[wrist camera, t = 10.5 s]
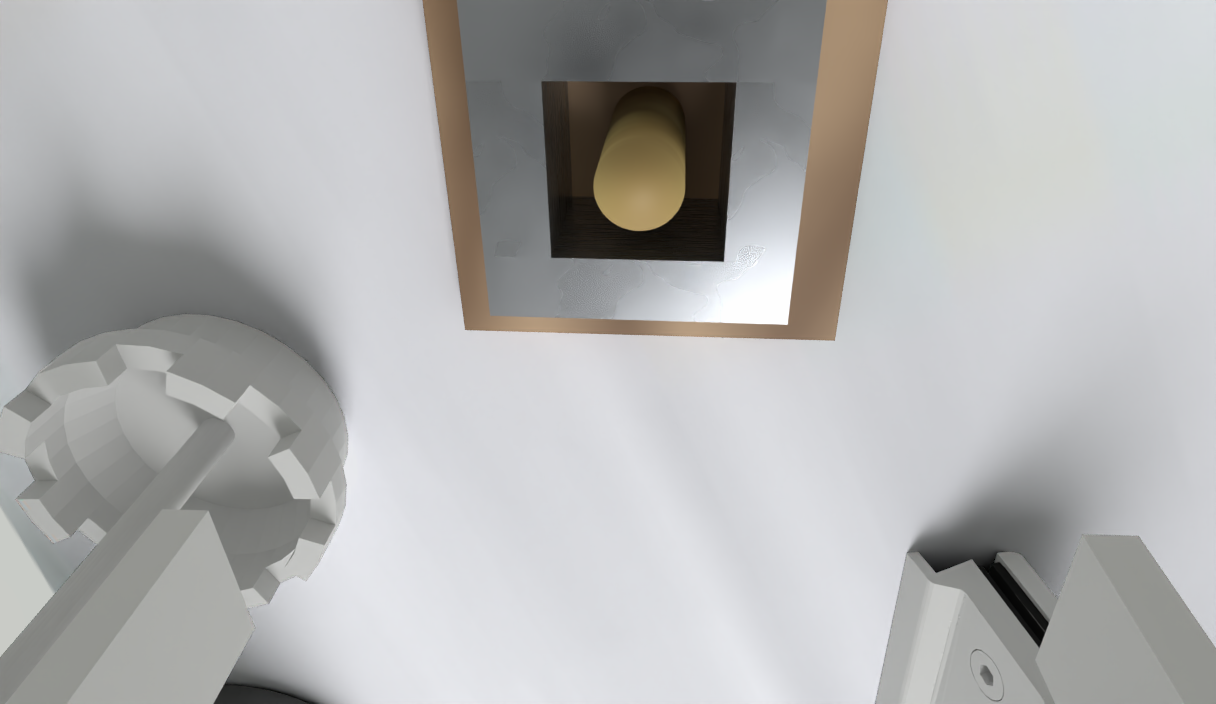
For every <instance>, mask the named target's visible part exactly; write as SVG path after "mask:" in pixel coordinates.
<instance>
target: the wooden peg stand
mask: <svg viewBox="0 0 1216 704" xmlns="http://www.w3.org/2000/svg"><path fill="white" fill-rule="evenodd" d="M887 3H888V0H827V3H826V12H825V20H824V28H823V36H822V45H821V53H820V61H819V69H818V77H817V86H816V94H815V102H814V110H813V118H812V127H811V135H810V143H809V151H808V160H807V168H806V176H805V184H804V192H803V201H802V209H801V217H800V225H799V233H798V242H797V250H796V258H795V266H794V274H793V283H792V291H791V299H790V307H789V316H788V324H787V325H784V324H750V323H717V322H683V321H650V320H616V319H583V318H549V317H516V316H490V310H489V300H488V291H487V282H486V272H485V263H484V253H483V244H482V234H481V225H480V215H479V206H478V197H477V187H476V178H475V168H474V159H473V149H472V140H471V130H470V121H469V111H468V102H467V93H466V83H465V74H464V64H463V55H462V45H461V36H460V26H459V17H458V8H457V0H423V8H424V16H425V23H426V31H427V39H428V47H429V54H430V62H431V70H432V77H433V85H434V93H435V101H436V108H437V116H438V124H439V131H440V139H441V147H442V155H443V162H444V170H445V178H446V185H447V193H448V201H449V209H450V216H451V224H452V232H453V239H454V247H455V255H456V263H457V270H458V278H459V286H460V293H461V301H462V309H463V317H464V324H465V330H485V331H520V332H555V333H589V334H624V335H659V336H694V337H729V338H764V339H799V340H834V341H835V335H836V329H837V323H838V316H839V310H840V303H841V297H842V291H843V284H844V278H845V272H846V265H847V259H848V252H849V246H850V240H851V233H852V227H853V220H854V214H855V208H856V201H857V195H858V188H859V182H860V176H861V169H862V163H863V156H864V150H865V144H866V137H867V131H868V124H869V118H870V112H871V105H872V99H873V92H874V86H875V80H876V73H877V67H878V60H879V54H880V48H881V41H882V35H883V28H884V22H885V16H886V9H887ZM725 83H726V82H586V81H568V98H569V124H570V149H571V174H572V196H586V197H595V199H596V202H597V205H598V206H599V208H600V210H601V211H602V213H603V214H604V215H605V216H606V217H607V218H608V219H609V220H610V221H611V222H613V223H614V224H616V225H618V226H620V227H622V228H625V229H628V230H633V231H646V230H651V229H655V228H657V227H660V226H662V225H663V224H665V223H667V222H668V221H669V220H670V219H672V218H673V216H674V215H675V214H676V213H677V212H678V210H679V208H680V207H681V204H682V202H683V199H684V198H700V199H718V195H719V179H720V163H721V147H722V131H723V115H724V99H725Z"/></svg>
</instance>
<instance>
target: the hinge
mask: <svg viewBox="0 0 1216 704" xmlns="http://www.w3.org/2000/svg"><path fill="white" fill-rule="evenodd" d="M1057 601H1058V599H1057V598H1056V596H1055V595H1054V594H1053V593H1052V592H1051V590H1050V589H1049V588H1048V587H1047V585H1046V584H1045V583H1044V582H1043V581H1042V579H1041V578H1040V577H1039V576H1038V574H1037V573H1036V572H1035V571H1034V570H1033V568H1032V567H1031V566H1030V565H1029V563H1028V562H1027V561H1026V560H1025V559H1024V557H1023V556H1022V555H1021V554H1019V553H1015V552H999V553H997V555H996V558H995V561H994V563H993V564H992V565H991V568H990V571H989V574H988V572H987V571H986V570H985V568H984V567H983V566H981V567H977V565H976V564H975V563H974V561H973V560H972V559H971V560H969V561H966V562H964V563H961V564H958V565H956V566H953V567H951V568H948V569H946V570H943V571H940V572H938V573H936V572H935V571H934V570H933V569H932V568H931V566H930V565H929V564H928V563H927V562H926V560H925V559H924V558H923V557H922V556H921V555H920V553H919V552H909V553H907V555H906V560H905V565H904V570H903V574H902V579H901V584H900V589H899V593H898V598H897V603H896V608H895V612H894V617H893V622H892V627H891V631H890V636H889V641H888V646H887V650H886V655H885V660H884V665H883V669H882V674H881V679H880V684H879V688H878V693H877V698H876V703H875V704H1055V703H1054V701H1053V698H1052V696H1051V694H1050V692H1049V689H1048V687H1047V685H1046V683H1045V680H1044V678H1043V676H1042V674H1041V672H1040V669H1039V667H1038V665H1037V663H1036V660H1035V659H1036V656H1037V654H1038V651H1039V649H1040V646H1041V643H1042V641H1043V638H1044V635H1045V633H1046V630H1047V627H1048V625H1049V622H1050V619H1051V617H1052V614H1053V611H1054V609H1055V606H1056V603H1057Z"/></svg>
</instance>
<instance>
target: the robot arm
mask: <svg viewBox="0 0 1216 704" xmlns="http://www.w3.org/2000/svg"><path fill="white" fill-rule="evenodd" d="M254 630H255V626H254V624H253V621H252V619H251V616H250V614H249V611H248V609H247V606H246V604H245V601H244V599H243V596H242V594H241V591H240V589H239V586H238V584H237V581H236V578H235V576H234V573H233V571H232V568H231V566H230V563H229V561H228V558H227V556H226V553H225V551H224V548H223V546H222V543H221V541H220V538H219V536H218V533H217V531H216V528H215V526H214V523H213V521H212V518H211V516H210V513H209V511H208V510H174V509H162V510H161V511H160V513H159V514H158V515H157V516H156V517H155V519H154V520H153V521H152V522H151V524H150V525H149V526H148V527H147V529H146V530H145V531H144V532H143V534H142V535H141V536H140V537H139V539H138V540H137V541H136V542H135V543H134V545H133V546H132V547H131V548H130V550H129V551H128V552H127V553H126V555H125V556H124V557H123V558H122V560H121V561H120V562H119V563H118V565H117V566H116V567H115V568H114V570H113V571H112V572H111V573H110V574H109V576H108V577H107V578H106V579H105V581H104V582H103V583H102V584H101V586H100V587H99V588H98V589H97V591H96V592H95V593H94V594H93V596H92V597H91V598H90V599H89V600H88V602H87V603H86V604H85V605H84V607H83V608H82V609H81V610H80V612H79V613H78V614H77V615H76V617H75V618H74V619H73V620H72V622H71V623H70V624H69V625H68V626H67V628H66V629H65V630H64V631H63V633H62V634H61V635H60V636H59V638H58V639H57V640H56V641H55V643H54V644H53V645H52V646H51V648H50V649H49V650H48V651H47V652H46V654H45V655H44V656H43V657H42V659H41V660H40V661H39V662H38V664H37V665H36V666H35V667H34V669H33V670H32V671H31V672H30V674H29V675H28V676H27V677H26V679H25V680H24V681H23V682H22V683H21V685H20V686H19V687H18V688H17V690H16V691H15V692H14V693H13V695H12V696H11V697H10V698H9V700H8V701H7V702H6V703H5V704H309V703H306V702H304V701H301V700H299V699H296V698H293V697H290V696H287V695H284V694H281V693H277V692H273V691H269V690H264V689H259V688H254V687H246V686H236V685H224V684H225V682H226V680H227V678H228V676H229V675H230V673H231V671H232V669H233V667H234V666H235V664H236V662H237V660H238V659H239V657H240V655H241V653H242V651H243V650H244V648H245V646H246V644H247V642H248V641H249V639H250V637H251V635H252V633H253V632H254ZM1035 660H1036V663H1037V665H1038V667H1039V669H1040V672H1041V674H1042V676H1043V678H1044V680H1045V683H1046V685H1047V687H1048V689H1049V692H1050V694H1051V696H1052V698H1053V701H1054V703H1055V704H1216V648H1215V646H1214V645H1213V643H1212V642H1211V640H1210V639H1209V638H1208V636H1207V635H1206V633H1205V632H1204V630H1203V629H1202V627H1201V626H1200V624H1199V623H1198V622H1197V620H1196V619H1195V617H1194V616H1193V614H1192V613H1191V611H1190V610H1189V608H1188V607H1187V606H1186V604H1185V603H1184V601H1183V600H1182V598H1181V597H1180V595H1179V594H1178V592H1177V591H1176V590H1175V588H1174V587H1173V585H1172V584H1171V582H1170V581H1169V579H1168V578H1167V576H1166V575H1165V574H1164V572H1163V571H1162V569H1161V568H1160V566H1159V565H1158V563H1157V562H1156V561H1155V559H1154V558H1153V556H1152V555H1151V553H1150V552H1149V550H1148V549H1147V547H1146V546H1145V545H1144V543H1143V542H1142V540H1141V539H1140V537H1139V536H1121V535H1085V534H1082V537H1081V539H1080V542H1079V545H1078V547H1077V550H1076V553H1075V555H1074V558H1073V561H1072V563H1071V566H1070V569H1069V571H1068V574H1067V577H1066V579H1065V582H1064V585H1063V587H1062V590H1061V593H1060V595H1059V598H1058V601H1057V603H1056V606H1055V609H1054V611H1053V614H1052V617H1051V619H1050V622H1049V625H1048V627H1047V630H1046V633H1045V635H1044V638H1043V641H1042V643H1041V646H1040V649H1039V651H1038V654H1037V656H1036V659H1035Z"/></svg>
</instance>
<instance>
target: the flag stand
mask: <svg viewBox="0 0 1216 704" xmlns="http://www.w3.org/2000/svg"><path fill="white" fill-rule="evenodd" d="M0 452H1V453H5V454H8V455H12V456H15V457H19V458H22V459H25V461H26V463H27V465H28V467H29V470H30V472H31V474H32V476H33V478H34V480H35V481H34V482H33V483H32V484H31V485H30V486H29V487H28V488H27V489H26V490H25V491H24V492H22V493H21V494H20V495H19V496H18V497H17V498H16V499H15V500H16V501H17V502H18V504H19V505H20V506H21V508H22V509H23V511H24V512H25V513H26V515H27V516H28V517H29V519H30V520H31V521H32V523H33V524H34V525H35V526H36V527H37V528H38V529H39V530H40V531H41V532H42V533H43V534H44V535H45V536H46V537H47V538H48V539H49V540H50V541H51V542H52V543H53V544H54V543H57V542H59V541H62V540H64V539H67V538H69V537H71V536H72V535H73V534H74V533H75V532H76V530H77V529H78V530H79V531H80V532H81V533H83V534H84V535H85V536H86V537H88V538H89V539H90V540H91V541H93V542H94V543H95V544H97V546H96V547H95V548H94V549H93V550H92V551H91V553H90V554H89V555H88V556H87V557H86V558H85V560H84V561H83V562H82V563H81V564H80V565H79V567H78V568H77V569H76V570H75V571H74V572H73V573H72V575H71V576H70V577H69V578H68V579H67V580H66V582H65V583H64V584H63V585H62V586H61V587H60V589H59V590H58V591H57V592H56V593H55V594H54V595H53V597H52V598H51V599H50V600H49V601H48V603H47V604H46V605H45V606H44V607H43V608H42V609H41V611H40V612H39V613H38V614H37V616H35V618H34V619H33V620H32V621H31V622H30V624H28V626H27V627H26V628H25V629H24V630H23V631H22V633H21V634H20V635H19V636H18V637H17V638H16V640H15V641H14V642H13V643H12V644H11V645H10V647H9V648H8V649H7V650H6V651H5V652H4V653H3V655H2V656H1V657H0V704H5V703H6V702H7V701H8V700H9V698H10V697H11V696H12V695H13V693H14V692H15V691H16V690H17V688H18V687H19V686H20V685H21V683H22V682H23V681H24V680H25V679H26V677H27V676H28V675H29V674H30V672H31V671H32V670H33V669H34V667H35V666H36V665H37V664H38V662H39V661H40V660H41V659H42V657H43V656H44V655H45V654H46V652H47V651H48V650H49V649H50V648H51V646H52V645H53V644H54V643H55V641H56V640H57V639H58V638H59V636H60V635H61V634H62V633H63V631H64V630H65V629H66V628H67V626H68V625H69V624H70V623H71V622H72V620H73V619H74V618H75V617H76V615H77V614H78V613H79V612H80V610H81V609H82V608H83V607H84V605H85V604H86V603H87V602H88V600H89V599H90V598H91V597H92V596H93V594H94V593H95V592H96V591H97V589H98V588H99V587H100V586H101V584H102V583H103V582H104V581H105V579H106V578H107V577H108V576H109V574H110V573H111V572H112V571H113V570H114V568H115V567H116V566H117V565H118V563H119V562H120V561H121V560H122V558H123V557H124V556H125V555H126V553H127V552H128V551H129V550H130V548H131V547H132V546H133V545H134V543H135V542H136V541H137V540H138V539H139V537H140V536H141V535H142V534H143V532H144V531H145V530H146V529H147V527H148V526H149V525H150V524H151V522H152V521H153V520H154V519H155V517H156V516H157V515H158V514H159V513H160V511H161V510H162V509H174V510H208V511H209V513H210V516H211V518H212V521H213V523H214V526H215V528H216V531H217V533H218V536H219V538H220V541H221V543H222V546H223V548H224V551H225V553H226V556H227V558H228V561H229V563H230V566H231V568H232V571H233V573H234V576H235V578H236V581H237V584H238V586H239V589H240V591H241V594H242V596H243V599H244V601H245V604H246V606H247V608H252V607H256V606H260V605H265V604H269V602H270V601H271V599H272V597H273V595H274V593H275V592H276V590H277V588H278V586H279V585H280V583H282V582H284V581H286V580H288V579H291V578H293V577H295V576H298V577H299V578H301V579H303V580H305V581H307V579H308V578H309V577H310V575H311V574H312V572H313V571H314V570H315V568H316V567H317V566H318V564H319V562H320V560H321V558H322V556H323V554H324V553H325V551H326V549H327V547H328V545H329V543H330V541H331V539H332V537H333V535H334V533H335V532H336V530H337V528H338V526H339V523H340V520H341V517H342V515H343V512H344V509H345V505H346V486H347V484H346V479H345V474H344V469H343V467H344V464H345V461H346V458H347V454H348V433H347V427H346V422H345V418H344V415H343V413H342V411H341V408H340V406H339V404H338V401H337V399H336V397H335V396H334V394H333V393H332V391H331V390H330V388H329V387H328V385H327V384H326V382H325V381H324V379H323V378H322V377H321V376H320V375H319V374H318V373H317V372H316V371H315V370H314V369H313V368H312V366H311V365H310V364H309V363H308V362H307V361H306V360H305V359H303V358H302V357H301V356H299V355H298V354H297V353H296V352H294V351H293V350H292V349H290V348H289V347H288V346H287V345H285V344H284V343H282V342H280V341H278V340H277V339H275V338H273V337H271V336H270V335H268V334H266V333H264V332H263V331H260V330H258V329H255V328H253V327H250V326H248V325H245V324H243V323H240V322H238V321H234V320H230V319H225V318H221V317H216V316H212V315H198V314H181V315H173V316H165V317H161V318H159V319H156V320H153V321H150V322H147V323H145V324H143V325H141V326H140V327H138V328H137V329H135V328H134V329H126V330H118V331H110V332H104V333H101V334H98V335H96V336H93V337H90V338H87V339H84V340H82V341H79V342H78V343H76V344H75V345H74V346H72V347H71V348H69V349H68V350H66V351H65V352H63V353H62V354H61V355H59V356H58V357H57V358H55V359H54V360H53V361H52V362H50V363H49V364H48V365H47V366H45V367H44V368H43V369H42V370H40V371H39V372H38V374H37V375H36V376H35V378H34V379H33V380H32V381H31V383H30V384H29V385H28V387H27V388H26V389H25V390H24V391H23V392H21V393H20V394H19V395H18V396H16V397H15V398H14V399H13V400H11V401H10V402H9V403H8V404H6V405H5V406H4V408H3V411H2V414H1V417H0Z"/></svg>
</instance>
